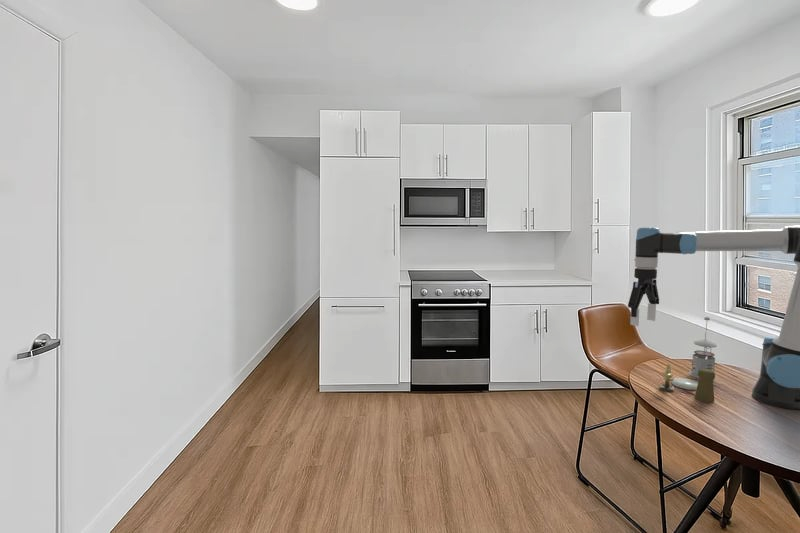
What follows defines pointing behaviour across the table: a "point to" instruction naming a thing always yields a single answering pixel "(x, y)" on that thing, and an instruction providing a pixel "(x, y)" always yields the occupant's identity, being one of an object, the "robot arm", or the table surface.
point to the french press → (703, 356)
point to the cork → (705, 386)
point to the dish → (685, 383)
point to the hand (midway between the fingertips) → (642, 322)
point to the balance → (667, 379)
